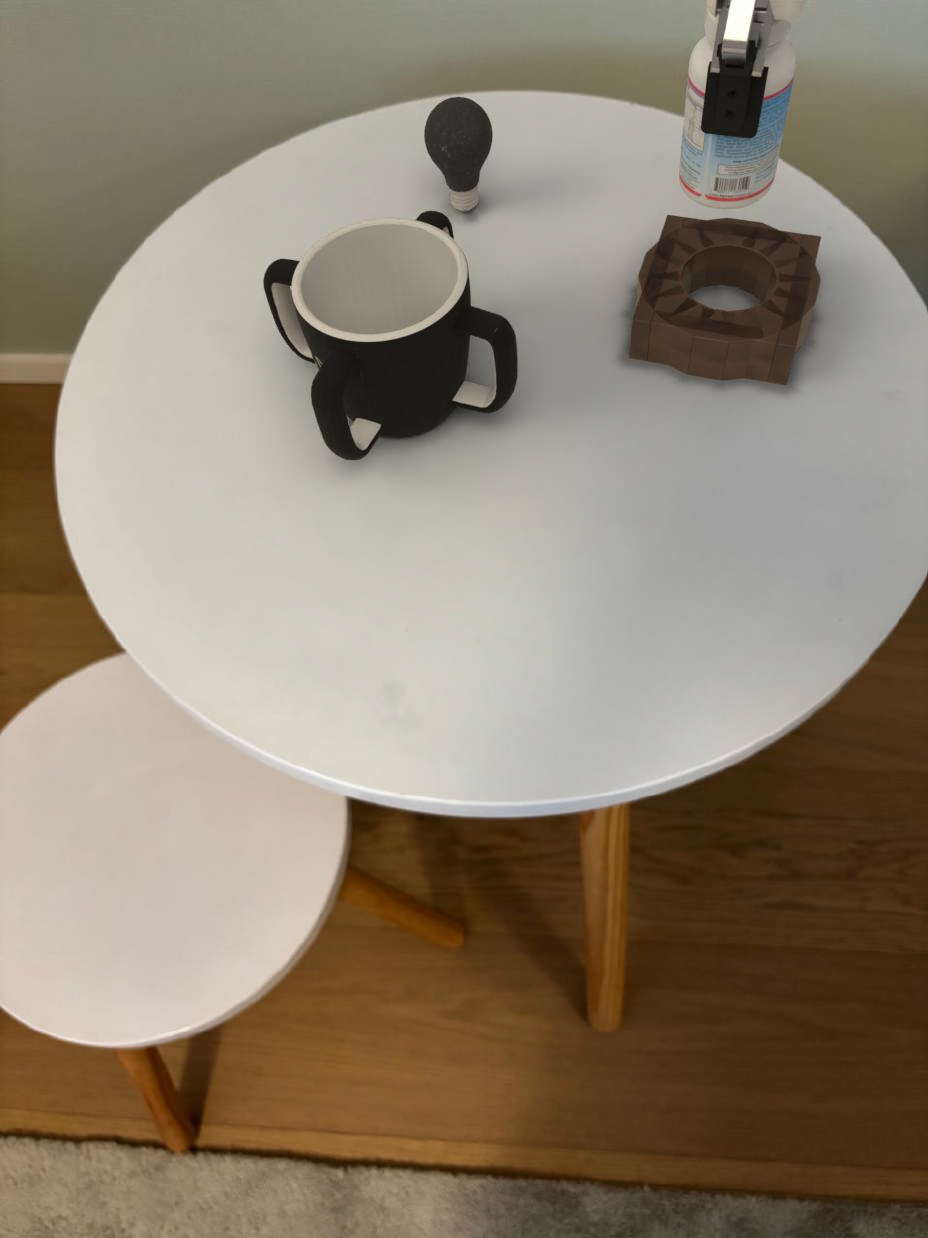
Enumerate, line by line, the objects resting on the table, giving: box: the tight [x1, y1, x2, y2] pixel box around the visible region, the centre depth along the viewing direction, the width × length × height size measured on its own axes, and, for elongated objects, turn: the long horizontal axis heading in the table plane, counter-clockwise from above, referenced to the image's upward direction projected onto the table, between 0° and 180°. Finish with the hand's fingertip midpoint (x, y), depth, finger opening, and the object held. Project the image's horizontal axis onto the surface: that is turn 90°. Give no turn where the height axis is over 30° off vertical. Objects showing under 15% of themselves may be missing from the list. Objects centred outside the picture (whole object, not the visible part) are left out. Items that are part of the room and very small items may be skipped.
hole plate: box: [629, 214, 822, 386], centre depth 80 cm, size 13×13×4 cm
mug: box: [262, 210, 519, 461], centre depth 75 cm, size 16×16×12 cm
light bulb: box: [423, 96, 494, 213], centre depth 87 cm, size 6×6×10 cm
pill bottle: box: [678, 0, 797, 210], centre depth 62 cm, size 6×6×11 cm
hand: (739, 94), depth 61 cm, fingers closed on pill bottle, 6 cm apart
